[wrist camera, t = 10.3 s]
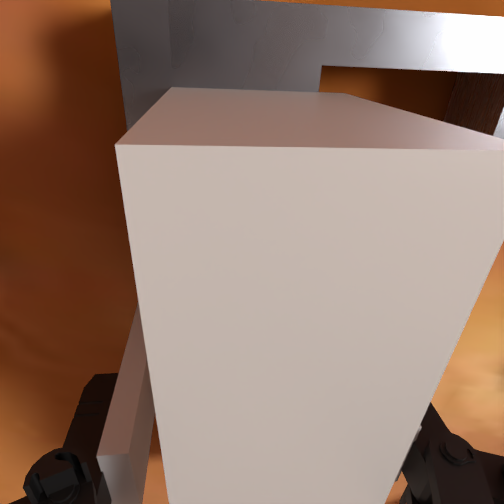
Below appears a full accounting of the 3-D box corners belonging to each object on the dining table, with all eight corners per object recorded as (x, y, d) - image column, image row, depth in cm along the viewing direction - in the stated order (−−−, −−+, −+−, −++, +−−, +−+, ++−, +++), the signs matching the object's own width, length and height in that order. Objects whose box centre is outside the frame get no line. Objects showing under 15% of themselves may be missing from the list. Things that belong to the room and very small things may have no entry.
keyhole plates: (130, 4, 10) (109, -10, 8) (507, 28, 11) (579, 22, 9) (179, 455, 21) (176, 502, 18) (366, 438, 22) (384, 480, 20)
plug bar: (177, 81, 11) (114, 144, 3) (320, 86, 11) (542, 151, 4) (198, 437, 19) (194, 669, 12) (277, 430, 20) (318, 648, 13)
